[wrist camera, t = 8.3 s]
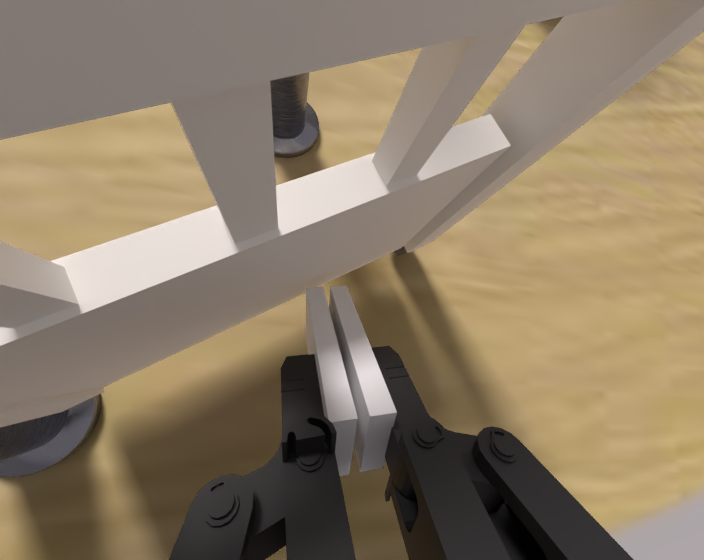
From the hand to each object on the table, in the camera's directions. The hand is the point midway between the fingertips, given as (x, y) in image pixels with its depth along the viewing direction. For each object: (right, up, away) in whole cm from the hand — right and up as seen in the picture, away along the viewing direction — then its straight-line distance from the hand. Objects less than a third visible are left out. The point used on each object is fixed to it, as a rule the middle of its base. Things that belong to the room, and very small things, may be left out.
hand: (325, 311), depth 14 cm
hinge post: (-14, -5, +1) cm, 15 cm away
